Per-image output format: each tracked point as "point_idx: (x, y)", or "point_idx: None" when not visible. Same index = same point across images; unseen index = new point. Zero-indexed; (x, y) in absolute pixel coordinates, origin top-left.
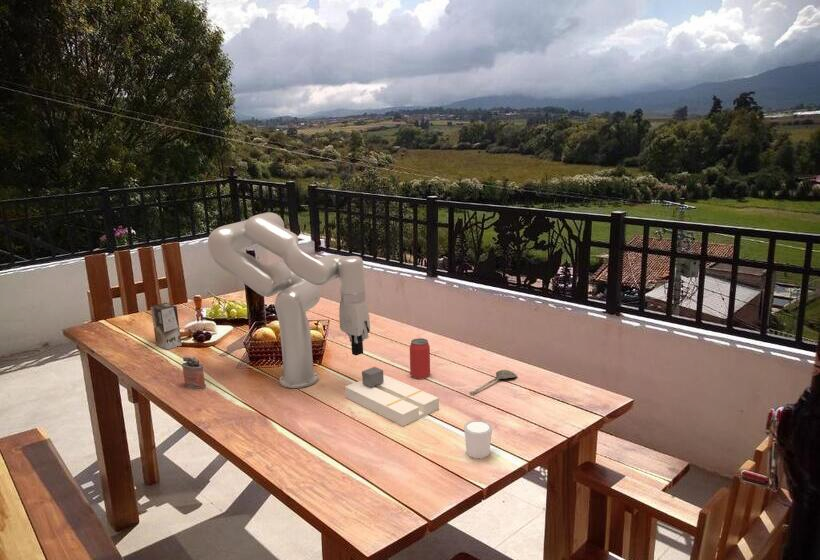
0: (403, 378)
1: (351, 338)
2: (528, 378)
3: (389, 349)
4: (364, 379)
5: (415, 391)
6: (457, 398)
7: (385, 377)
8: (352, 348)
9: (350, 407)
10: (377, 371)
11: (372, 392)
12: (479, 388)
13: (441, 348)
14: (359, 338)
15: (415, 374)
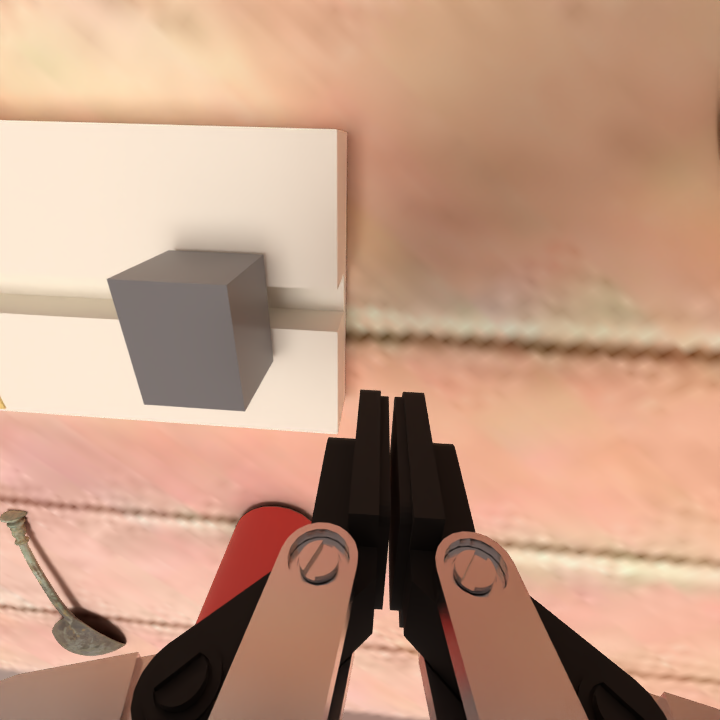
0: (307, 482)
1: (458, 610)
2: (52, 643)
3: (582, 623)
4: (222, 263)
5: (3, 386)
6: (13, 471)
7: (264, 412)
8: (411, 442)
9: (189, 40)
10: (144, 364)
11: (112, 212)
12: (21, 549)
13: (409, 682)
14: (172, 663)
15: (257, 520)
